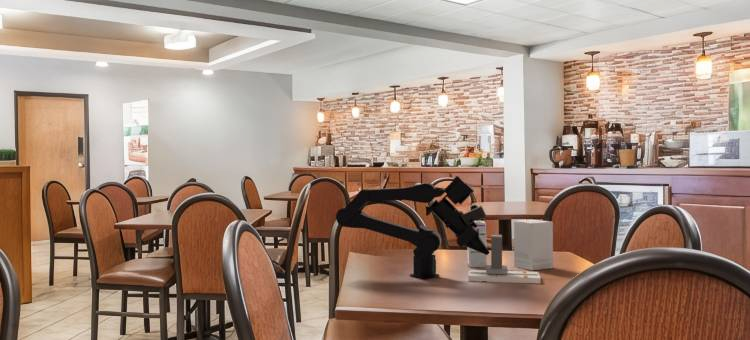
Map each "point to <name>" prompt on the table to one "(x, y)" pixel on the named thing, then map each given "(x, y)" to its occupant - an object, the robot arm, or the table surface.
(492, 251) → the fader
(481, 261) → the syrup box
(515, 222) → the supplement box
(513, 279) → the fader base
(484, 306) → the table surface
